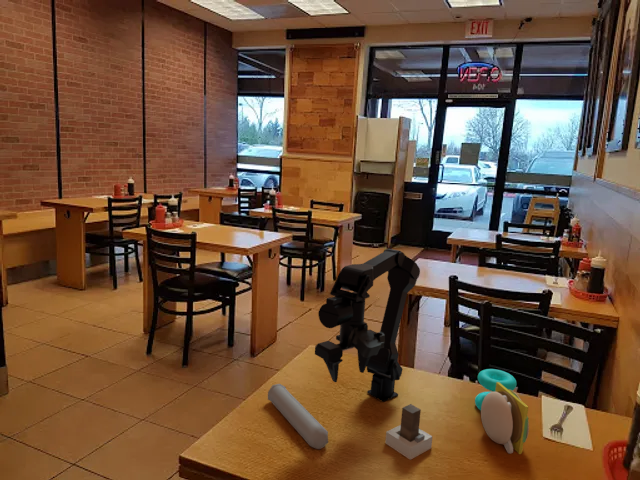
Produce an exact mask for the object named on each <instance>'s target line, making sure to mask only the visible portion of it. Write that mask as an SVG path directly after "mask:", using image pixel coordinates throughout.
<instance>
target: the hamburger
mask: <svg viewBox="0 0 640 480" xmlns="http://www.w3.org/2000/svg"><path fill="white" fill-rule="evenodd" d="M489 392H490V393H489V394H487V395H486V396H485V398H484V400H483V402H482V406H481V410H480V416H481V417H480V418H481V422H482V426H483V429H484V431H485V433H486V435H487V436H488V437H489V439H491V440H492V441H493V442H494V443H496V444H498V445H499V444H500V445H503V446H504V449H505V450H506V453H508V454H509V455H511V454H513V453H514V451H515V452H517V454H518V455H522V454H523V450H524V449H523V447H524V444H525V443H526V441H527V439H528V437H529V432H530V425H529V417H528V412H529V406H528V405H527V404H526V403H525V402H524V401H523V400H522V399H521V398H520V396H519V395H518V394H517V393H516V392H515V391H514V390H513V391H512V390H510V389H507V388H505V387H504V386H503V385H502V384H501V383H499V382H496V390H495V392H493V391H489Z"/></svg>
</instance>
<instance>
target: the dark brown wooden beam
mask: <svg viewBox="0 0 640 480" xmlns="http://www.w3.org/2000/svg"><path fill="white" fill-rule="evenodd" d="M401 410H402V411H401V419H400V425H401V429H400V436H402V437H403V438H405V439H406V440H408V441H410V442H412V441H414V440H415V437H417V436H418V433H419V429H420V422H421V413H422V409H421V408H419V407H417V406H415V405H413V404H412V403H410V404H407V405H406V406H403V407H402V408H401Z"/></svg>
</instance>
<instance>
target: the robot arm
mask: <svg viewBox="0 0 640 480" xmlns="http://www.w3.org/2000/svg"><path fill="white" fill-rule="evenodd" d="M385 273H387V279H386V280H387V282H388V284H389V285H388V286H389V288H390V290H389V294H388V298H387V302H386V304H385V310H384V313H383V318H382V322H381V326H380V330H379V332H377V331H375V330H371V329H369V325H368V323H367V322H365V312H366V311H365V310H366V299H368V298H370V294H369V293H368V291H369V290H370V289H371V288H372V287H374V281H375V280H376V279H377V278H379V277H380V276H382V275H384V274H385ZM420 274H421V269H420V266H419V265H418V264H417V262H416V261H415V260H413V259H411V258H410V257H409V256H407V255H406V254H405V252H403V251H401V250H398V249H393V248H385V249H384V250H383V252H381V253H380V254H379V253H378V255H376V256H374V257H372V258H370V259H369V260H367V261H365V262H364V263H358V264H356V263H354V264H349V265H345V266H343V267H342V269H341V270H340V271H339V273H338V275H337V277H336V280H335V282H334V284H333V286H332V288H331V290H330V293H329V295H330V296H332V297H326V300H325V301H326V302H325V303H324V304H322V305H321V306H320V307H319V310H318V312H317V314H318V320H319V322H320V323H321V325H322V326H323V327H325V328H327V329H333V328H336V327H338V326H339V334H337V335H335V340H337V341H338V342H339V343H335V342H332V341H330V340H326V341H323V342H318V343H317V344H316V345H315V347H314V355H315V356H317V357H319V358H321V359H322V360H323V361H324V363H325V366H326V368H327V370H328V373H329V375H330V378H331V380H332V381H333V383H337V382H338V378H339V368H340V367H339V366H340V364H341V363H342V362H343V359H342V357H343V353H344V351H348V350H351V349H356V350H357V362H358V364H357V365H358V369H359V372H360V373H361V374H364V372H365V371H367V373H370V374H372V375H371V376H372V378H371V384H370V389H368V390H367V391H366V393H367V394H369V395H370V396H372V397H373V398H375V399H377V400H378V401H381V402H386V401H389V400H391V399H393V398H396V397H399V393H398V392H396V391H395V385H396V381H399V380H401V377H402V374H403V371H404V370H403V368H402V366H401V364H400V363H399V359H398V358H399V351H398V348H397V345H396V341H397V337H398V334H399V330H400V324H401V321H402V316H403V314H404V313H403V312H404V308H405V304H406V300H407V296H408V293H409V292H410V291H411V290H412V289H413V288H414V287H416V283H417V282H418V281H417V280H418V279H419V277H420Z"/></svg>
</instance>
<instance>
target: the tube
mask: <svg viewBox="0 0 640 480" xmlns="http://www.w3.org/2000/svg"><path fill="white" fill-rule="evenodd" d="M267 400H268V401H270V402H271V403H272V404H273V406H274V407H275V408H276V409H277V410H278V411H279V413H281V415H282V416H283V417H284V418H285V420H287V422H288V423H290V426H292V427H293V428H294V429H295V431H296V432H297V433H298V435H300V436H301V437H302V438H303V440H305V442H306V443H307V444H308V445H309V447H311V448H314V449H316V450H321V449H323V448H324V447H325V446H326V445H327V444H328V443H329V435H328V434H329V431H328V430H327V429H326V428H325V427H324V426H323V425H322V424H321V423H320V422H319V421H318V420H317V419H316V418H315V417H314V416H313V415H312V414H311V413H310V411H308V410H307V409H306V407H304V406H303V404H301V402H300V401H298V399H296V397H294V395H292V394H291V392H289V390H288V389H287V388H286V386H284V385H283V384H281V383H276V384H272V386H271V387H270V389H268V392H267Z"/></svg>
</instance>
